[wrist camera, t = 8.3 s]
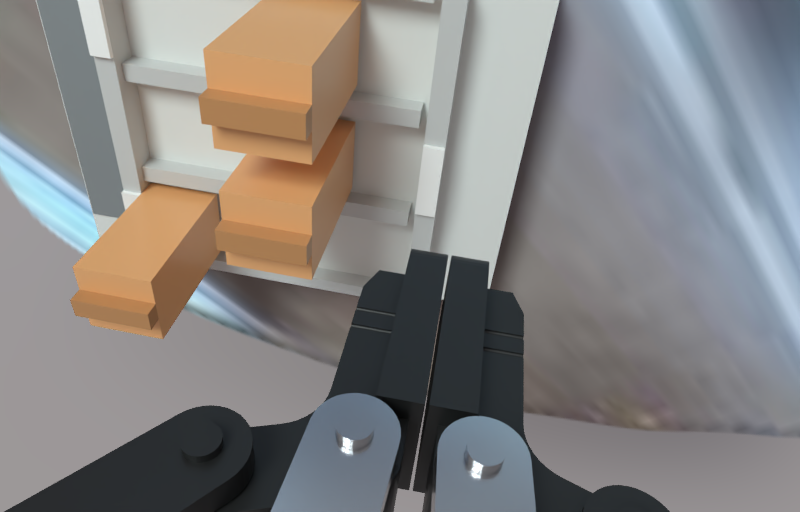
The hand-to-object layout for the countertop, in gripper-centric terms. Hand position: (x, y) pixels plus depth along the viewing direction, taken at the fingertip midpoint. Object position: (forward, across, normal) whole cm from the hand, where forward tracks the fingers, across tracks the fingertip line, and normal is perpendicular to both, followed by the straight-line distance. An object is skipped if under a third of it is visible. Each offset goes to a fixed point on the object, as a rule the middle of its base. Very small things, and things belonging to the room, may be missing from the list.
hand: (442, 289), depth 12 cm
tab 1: (+12, +12, +9) cm, 19 cm away
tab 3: (+12, +6, +5) cm, 14 cm away
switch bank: (+15, +7, +5) cm, 17 cm away
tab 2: (+12, +6, 0) cm, 14 cm away
